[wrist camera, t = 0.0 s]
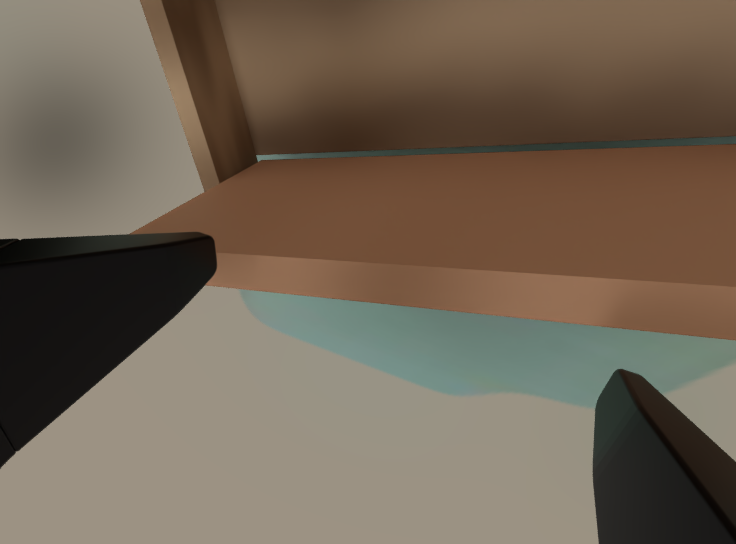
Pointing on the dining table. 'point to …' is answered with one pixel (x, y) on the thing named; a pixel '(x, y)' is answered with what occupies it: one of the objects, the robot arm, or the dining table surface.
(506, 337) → the dining table surface
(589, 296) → the wooden panel
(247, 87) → the wooden box tray
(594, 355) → the dining table surface
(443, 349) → the dining table surface
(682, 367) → the dining table surface
